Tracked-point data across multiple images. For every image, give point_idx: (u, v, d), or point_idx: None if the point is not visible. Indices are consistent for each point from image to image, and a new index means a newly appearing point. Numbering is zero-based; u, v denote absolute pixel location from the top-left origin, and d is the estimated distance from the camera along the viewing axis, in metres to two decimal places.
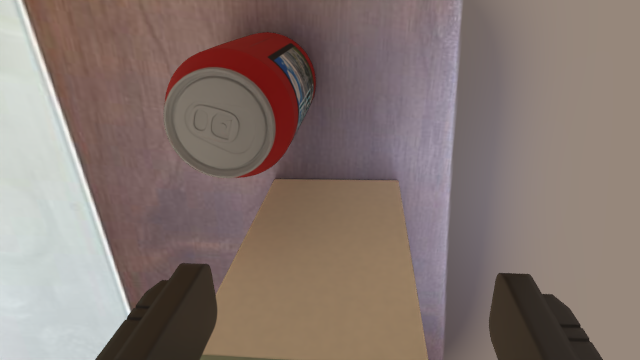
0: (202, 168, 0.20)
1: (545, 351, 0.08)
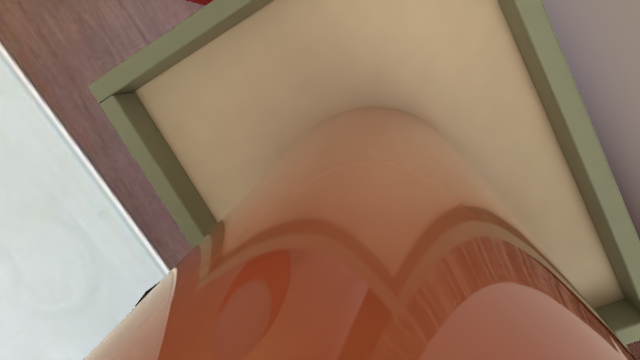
0: None
1: None
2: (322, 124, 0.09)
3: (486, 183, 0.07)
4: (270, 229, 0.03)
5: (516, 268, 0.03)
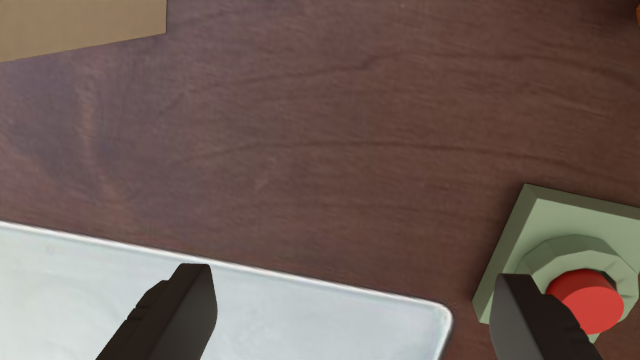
0: None
1: (545, 351, 0.08)
2: None
3: None
4: None
5: None
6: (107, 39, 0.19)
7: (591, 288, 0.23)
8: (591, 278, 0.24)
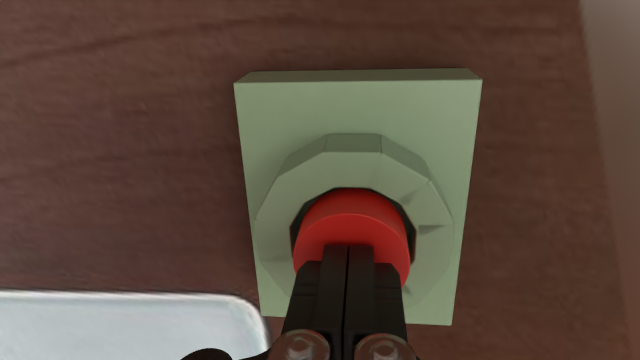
0: None
1: (350, 304, 0.10)
2: None
3: None
4: None
5: None
6: None
7: (328, 220, 0.12)
8: (338, 202, 0.12)
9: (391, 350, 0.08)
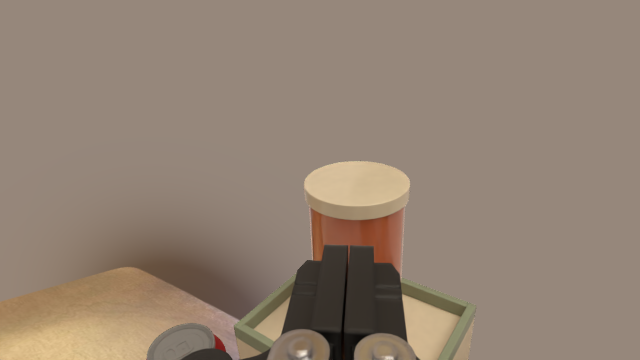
0: None
1: (350, 304, 0.10)
2: None
3: None
4: None
5: None
6: None
7: None
8: None
9: (391, 350, 0.08)
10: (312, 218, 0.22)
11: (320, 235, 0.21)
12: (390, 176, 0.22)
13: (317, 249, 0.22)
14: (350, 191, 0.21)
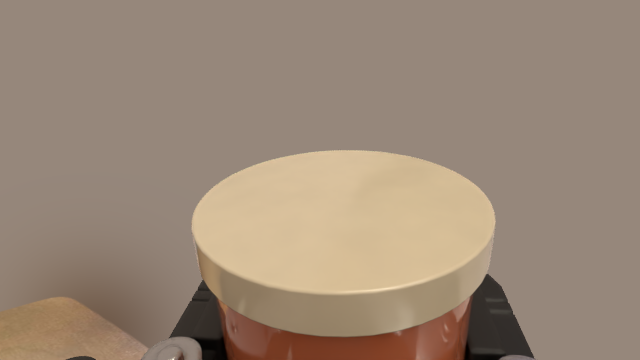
0: None
1: None
2: None
3: None
4: None
5: None
6: None
7: None
8: None
9: None
10: (217, 303, 0.08)
11: (236, 357, 0.07)
12: (431, 186, 0.08)
13: None
14: (319, 232, 0.07)
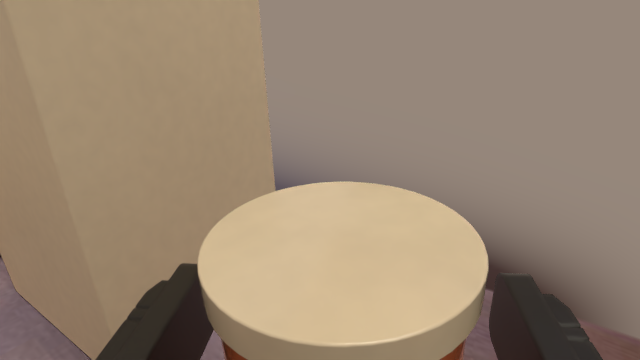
0: None
1: (545, 351, 0.08)
2: None
3: None
4: None
5: None
6: (96, 269, 0.15)
7: None
8: None
9: None
10: (221, 339, 0.08)
11: None
12: (427, 225, 0.09)
13: None
14: (320, 276, 0.07)
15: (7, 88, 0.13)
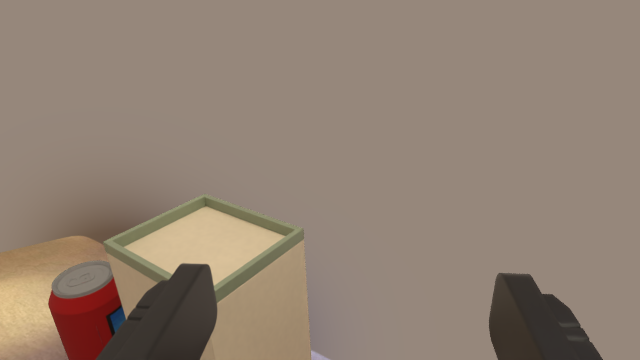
0: (82, 292, 0.37)
1: (545, 351, 0.08)
2: None
3: None
4: None
5: None
6: None
7: None
8: None
9: None
10: None
11: None
12: None
13: None
14: None
15: None
